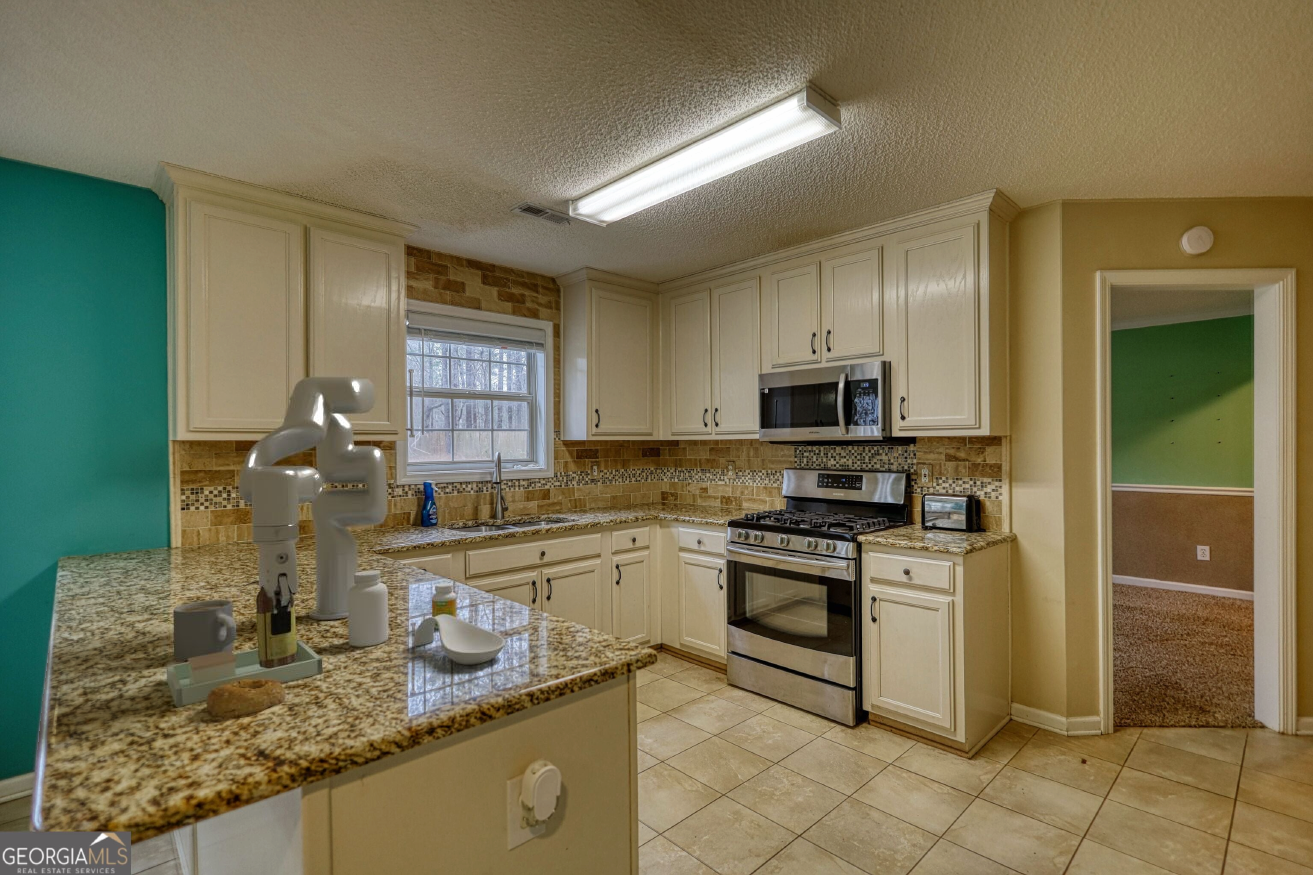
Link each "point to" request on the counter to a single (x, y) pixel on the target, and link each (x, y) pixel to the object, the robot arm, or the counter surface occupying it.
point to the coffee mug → (203, 628)
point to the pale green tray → (242, 674)
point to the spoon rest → (460, 639)
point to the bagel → (245, 697)
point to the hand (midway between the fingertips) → (276, 628)
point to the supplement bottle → (443, 601)
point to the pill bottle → (367, 610)
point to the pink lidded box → (211, 667)
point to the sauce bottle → (274, 647)
